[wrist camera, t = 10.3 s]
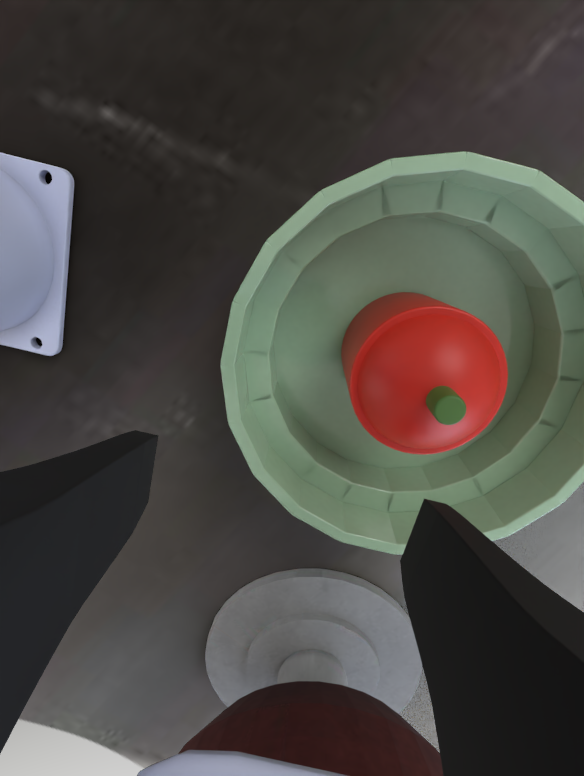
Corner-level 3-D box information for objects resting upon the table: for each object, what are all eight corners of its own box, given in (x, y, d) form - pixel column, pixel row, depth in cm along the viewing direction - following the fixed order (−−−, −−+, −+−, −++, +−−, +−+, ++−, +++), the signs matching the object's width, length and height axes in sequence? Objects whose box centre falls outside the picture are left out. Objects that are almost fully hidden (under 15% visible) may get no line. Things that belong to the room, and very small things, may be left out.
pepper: (327, 393, 20) (335, 471, 13) (359, 278, 18) (388, 295, 11) (438, 419, 20) (505, 511, 13) (479, 308, 18) (580, 344, 11)
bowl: (219, 450, 22) (191, 507, 17) (282, 141, 17) (270, 99, 13) (490, 515, 22) (539, 589, 17) (618, 227, 18) (730, 218, 13)
